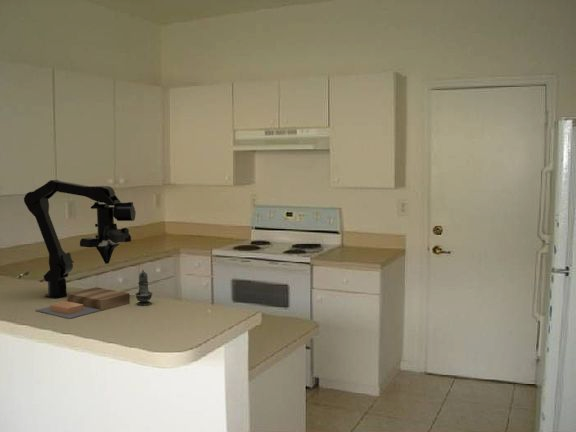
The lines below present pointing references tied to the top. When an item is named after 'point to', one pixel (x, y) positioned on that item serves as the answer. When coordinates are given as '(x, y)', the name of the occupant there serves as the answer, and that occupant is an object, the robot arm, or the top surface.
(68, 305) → the tile
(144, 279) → the dark grey chess piece
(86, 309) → the mat
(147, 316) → the top surface
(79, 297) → the board
